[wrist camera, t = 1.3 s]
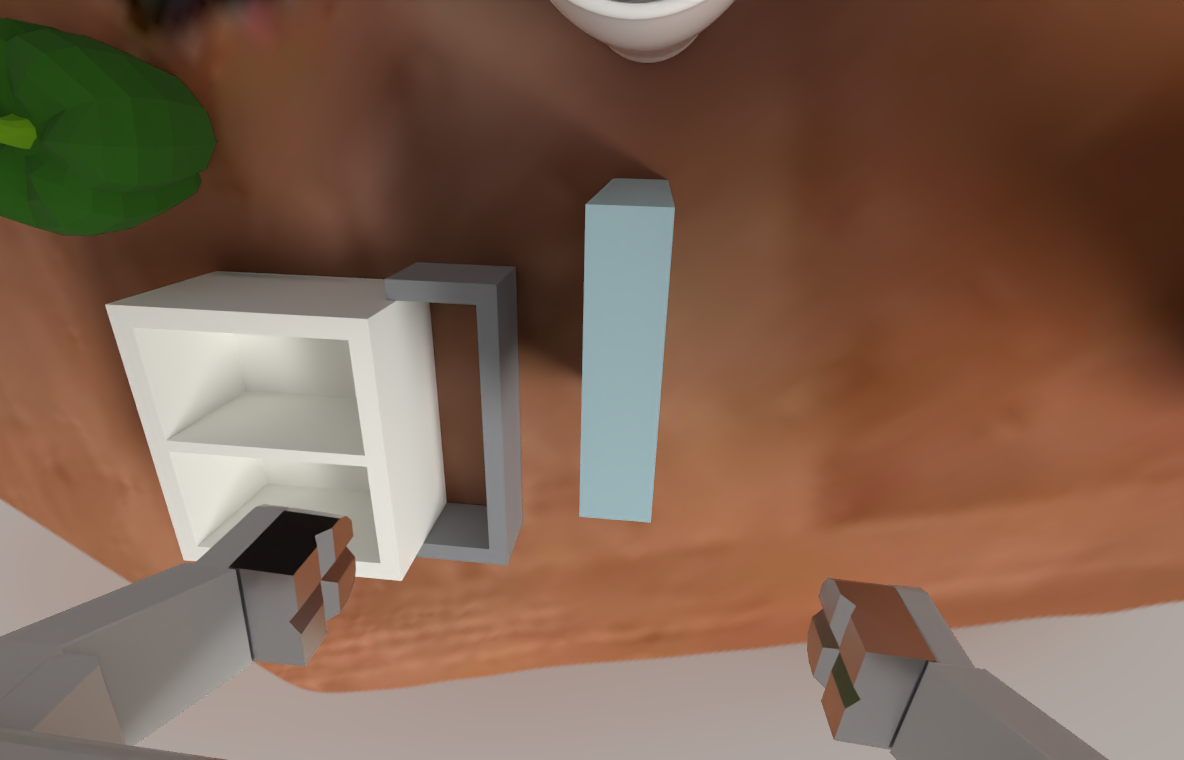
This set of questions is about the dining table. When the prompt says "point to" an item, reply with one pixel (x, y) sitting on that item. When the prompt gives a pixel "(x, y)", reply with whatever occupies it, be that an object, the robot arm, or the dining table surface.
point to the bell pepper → (92, 134)
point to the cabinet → (324, 406)
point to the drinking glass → (643, 24)
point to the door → (623, 345)
